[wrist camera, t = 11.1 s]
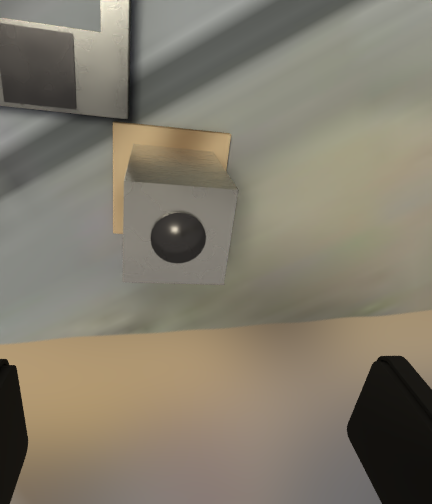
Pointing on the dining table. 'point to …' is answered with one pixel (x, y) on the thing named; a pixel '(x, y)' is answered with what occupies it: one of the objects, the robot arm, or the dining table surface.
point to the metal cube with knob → (176, 216)
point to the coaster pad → (156, 136)
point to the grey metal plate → (68, 65)
